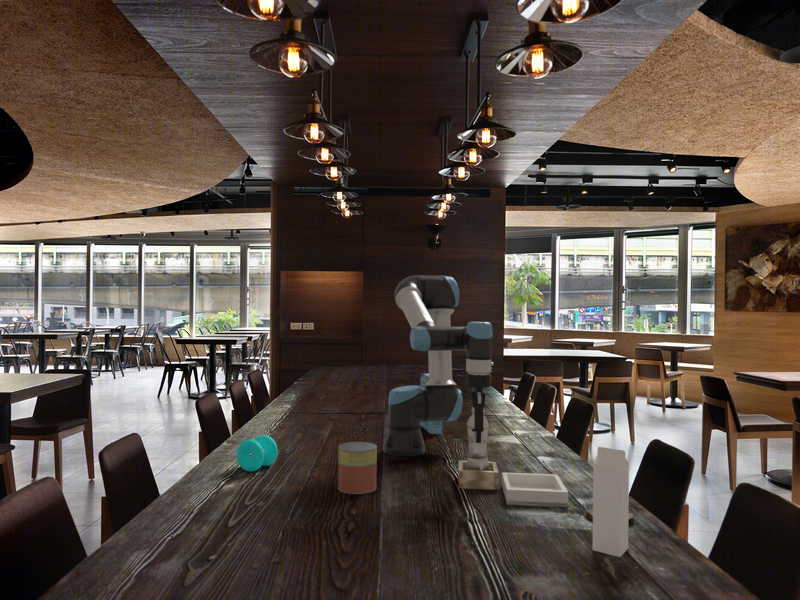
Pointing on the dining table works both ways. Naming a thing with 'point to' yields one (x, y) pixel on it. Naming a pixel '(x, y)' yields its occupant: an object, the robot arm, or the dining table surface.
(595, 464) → the milk
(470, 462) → the plastic bottle
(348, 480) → the canned food
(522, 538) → the dining table surface
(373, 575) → the dining table surface
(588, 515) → the patterned ceramic bowl
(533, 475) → the plastic tray
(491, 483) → the wooden collar
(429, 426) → the gum box
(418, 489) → the dining table surface
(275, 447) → the turquoise yo-yo
